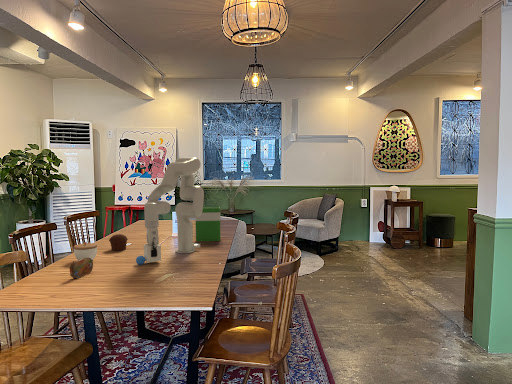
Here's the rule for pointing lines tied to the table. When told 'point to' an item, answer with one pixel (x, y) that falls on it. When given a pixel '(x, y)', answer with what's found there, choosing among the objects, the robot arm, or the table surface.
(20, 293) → the table surface
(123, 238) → the muffin
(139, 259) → the ball
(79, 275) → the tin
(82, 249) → the lidded bowl
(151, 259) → the beige cube
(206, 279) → the table surface
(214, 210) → the hardback book
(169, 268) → the table surface
